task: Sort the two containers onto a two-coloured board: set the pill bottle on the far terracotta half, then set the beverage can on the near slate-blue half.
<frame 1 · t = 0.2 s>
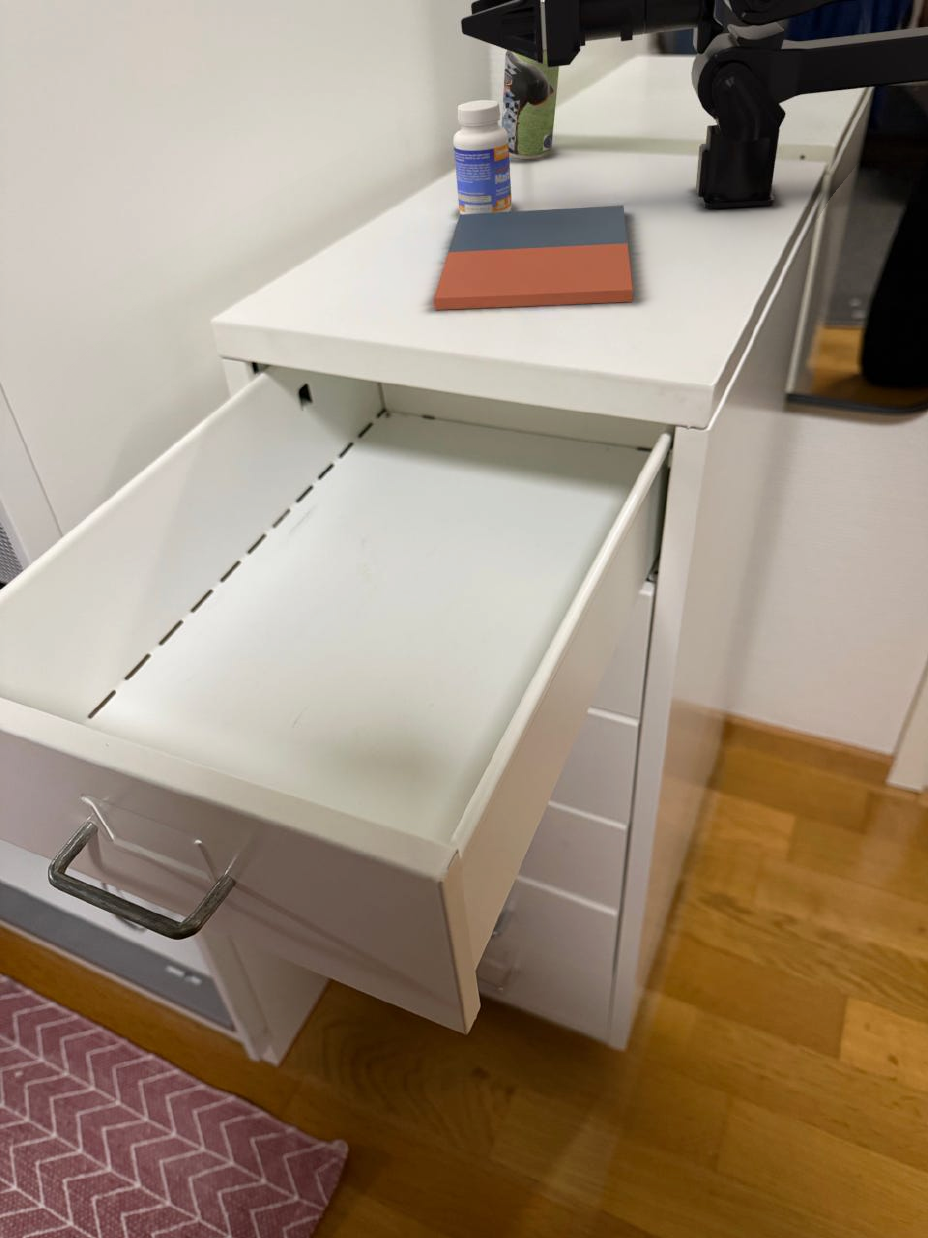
hand: (466, 17, 79), 17 cm above the table, tool horizontal, fingers open, 9 cm apart
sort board: (536, 258, 79), on the table
beverage can: (530, 157, 104), on the table
pill bottle: (485, 214, 90), on the table
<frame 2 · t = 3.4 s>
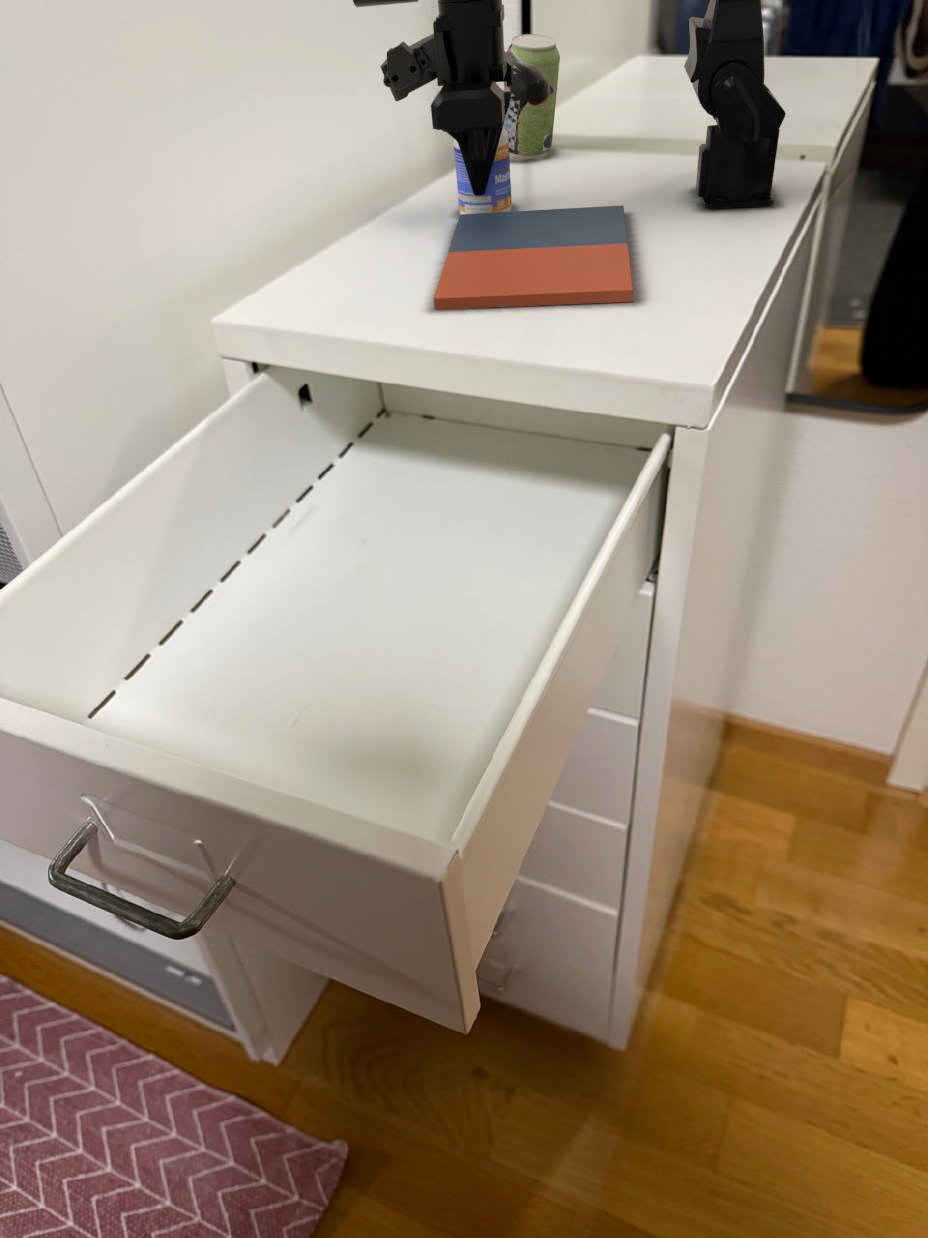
hand: (481, 185, 88), 3 cm above the table, tool pointing down, fingers closed on pill bottle, 5 cm apart
pill bottle: (485, 213, 90), on the table, touching gripper
everything else where it was.
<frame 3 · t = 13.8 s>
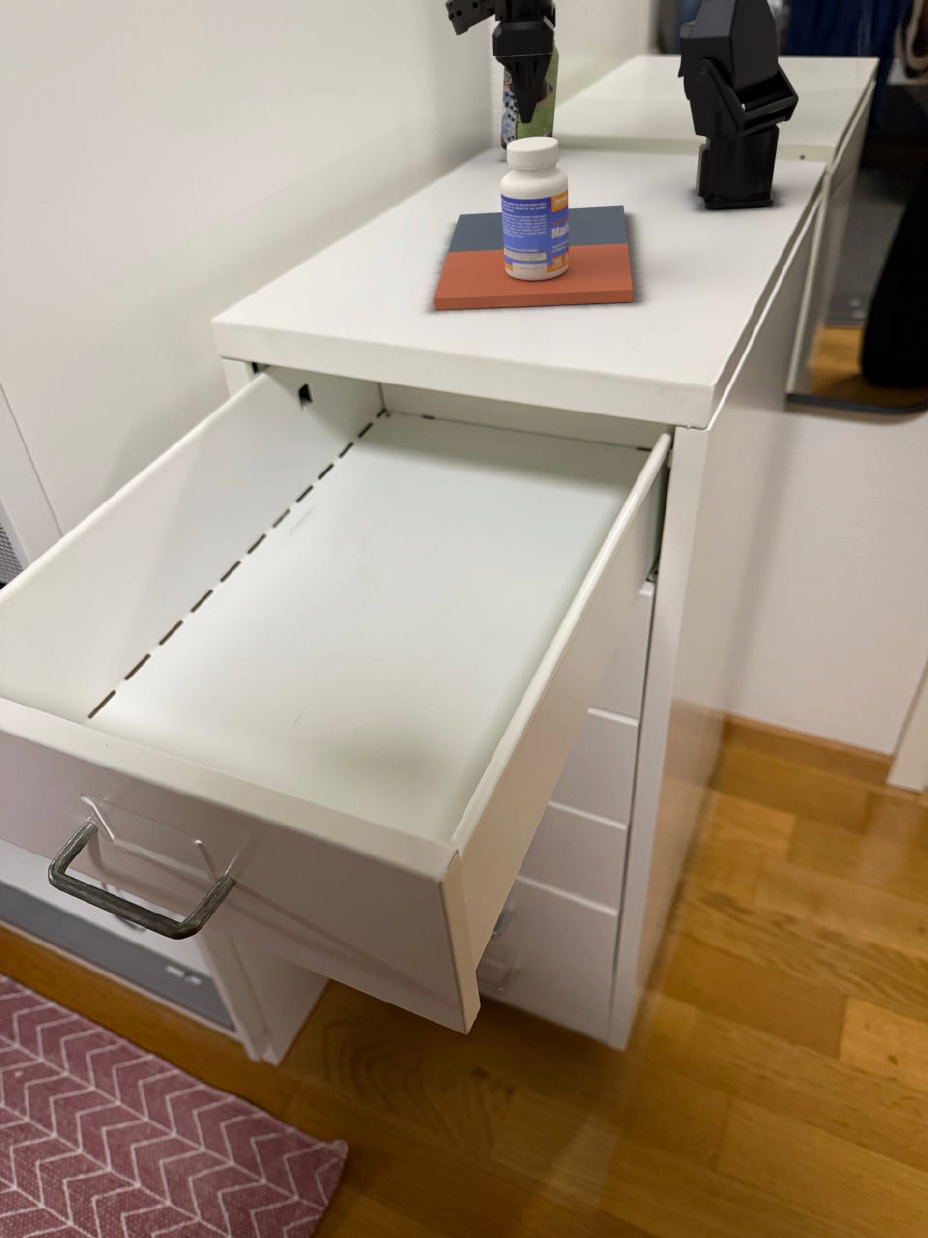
hand: (527, 114, 101), 4 cm above the table, tool pointing down, fingers closed on beverage can, 7 cm apart
beverage can: (530, 157, 104), on the table, touching gripper
pill bottle: (536, 272, 74), point 1 cm above the table, touching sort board
when the fingers open (6 cm above the table, at t = 19.0 s): beverage can stays where it is, resting on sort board.
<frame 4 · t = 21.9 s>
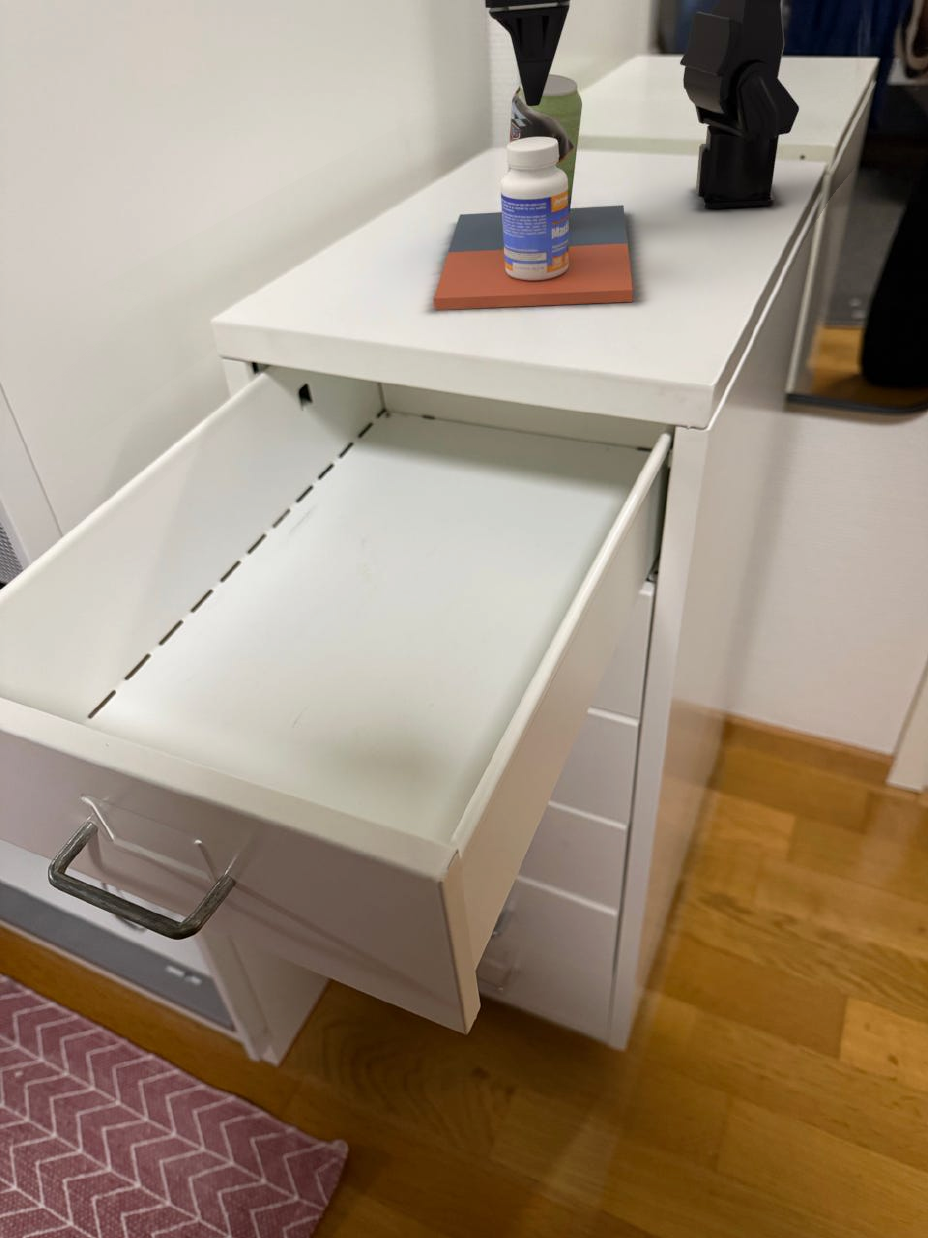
hand: (535, 92, 75), 12 cm above the table, tool pointing down, fingers open, 9 cm apart
beverage can: (543, 226, 83), point 1 cm above the table, touching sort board
everything else where it was.
at the end: pill bottle inside the target area on the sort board (0.2 cm from its centre), point 0.8 cm above the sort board's base; beverage can inside the target area on the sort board (0.7 cm from its centre), point 0.8 cm above the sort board's base; beverage can tilted 0° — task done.
